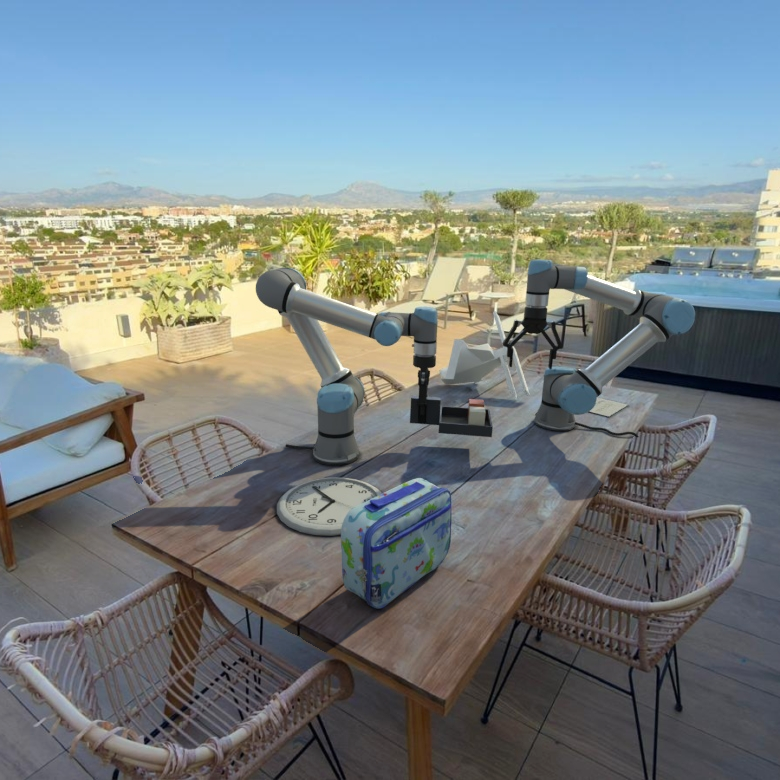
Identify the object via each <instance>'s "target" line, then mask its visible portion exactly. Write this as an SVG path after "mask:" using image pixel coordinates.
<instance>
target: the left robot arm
mask: <svg viewBox="0 0 780 780" xmlns="http://www.w3.org/2000/svg"><path fill="white" fill-rule="evenodd" d="M255 294H256V296H257V299H258V300H259V301H260V302H261V303H262V304H263V305H264V306H266V307H268V308H270V309H272V310H276V311H277V312H278V314H279V316H282V317H285V318H287V321H288V322H289V325H291V327H292V330H293V331H294V333H295V335H296V336H297V338H298V340H299V342H300V343H301V345H302V348H303V349H304V350H305V352H306V354H307V355H308V357H309V359H310V361H311V363H312V364H313V367H314V368H315V370H316V372H317V373H318V375H319V377H320V379H321V381H320V385H319V386H320V387H321V388H319V389H318V391H317V397H316V405H317V438H316V440H315V444H314V446H308V445H307V446H305V445H293V444H287V443H286V444H285V448H290V449H297V450H312V457H313V460H315V462H317V463H319V464H322V465H326V466H344V465H349V464H352V463H354V462H356V461H357V460H359V458H360V447H359V445H358V442H357V439H356V435H355V414H356V413H357V411H358V409H359V408H360V407H361V405H362V404H363V402H364V399H365V392H366V391H365V387H364V384H363V383H362V381H361V379H359V378H358V377H356V376H354V374H353V373H352V370H351V369H350V368H347V367H344V365H343V364H342V361H341V359H340V358H339V356H338V355H337V352H336V350H335V349H334V347H333V345H332V344H331V342H330V339H329V338H328V336H327V334H326V333H325V331H324V329H323V327H322V325H321V324H320V322H323V323H326V324H329V325H331V326H334V327H337V328H341V329H343V330H347V331H348V332H352V333H355V334H358V335H361V336H364V337H367V338H370V339H373V340H374V341H376V342H377V343H378V344H379V345H381V346H383V347H390V346H393V345H395V344H396V343H397V342H399V340H400V339H401V338H402V337H413V343H412V344H411V347H412V348H413V353H414V354H413V356H412V366H413V367H415V368H419V369H418V371H417V379H418V381H417V385H418V396H419V403H417V405H419V406H418V423H423V424H422V425H427V424H426V409H427V403H426V397H429V395H428V391H429V390H428V387H429V383H430V376H431V370H429V369H433V368H435V367H436V365H437V356H436V355H437V347H438V339H437V338H438V326H439V325H438V324H439V323H438V322H439V321H438V310H437V308H436V307H434V306H433V307H432V306H417V307H414V312H412V313H411V312H410V313H409V312H394V311H393V312H391V311H384V312H382V311H381V312H379V313H376V312H372V311H370V310H367V309H363V308H360V307H358V306H354V305H351V304H348V303H345V302H342V301H340V300H337V299H334V298H331V297H329V296H325V295H322V294H319V293H316V292H314V291H310V290H307V281H306V279H305V277H304V275H303V274H302V273H301V272H300V271H299V270H297V269H295V268H292V267H279V268H276V269H271V270H267V271H265V272H263V273H261V275H260V276H259V277H258V278H257V280H256V283H255Z"/></svg>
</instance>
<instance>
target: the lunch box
mask: <svg viewBox="0 0 780 780" xmlns="http://www.w3.org/2000/svg"><path fill="white" fill-rule="evenodd" d="M451 539H452V494H451V491H450V490H449V488H446V487H439V486H437V485H435V484H434V483H432V482H430V481H428V480H426V479H424V478H421V477H416V478H413V479H410V480H408V481H405V482H403V483H402V484H398V485H397V486H395V487H392V488H390V489H389V490H386V491H384V492H382V494H380V495H378V496H376V497H374V498H372V499H370V500H368V501H366V502H364V503H362V504H360V505H358V506H356V507H354V508H353V509H351V510H350V511H349V512H348V514H347V515H346V517H345V518H344V520H343V523H342V528H341V535H340V546H341V569H342V570H341V571H342V582H343V585H344V588H345V589H346V590H347V591H349V592H351V593H353V594H355V595H356V596H358V597H359V598H361V599H362V600H364V601H365V602H366V603H367V605H368V606H370V607H372V608H374V609H378V610H379V609H380V610H381V609H383V608H384V607H387V605H389V604H390V603H391V602H392V601H393V600H395V599H396V598H397V597H399V596H400V595H402V594H403V593H404V592H405V591H407V590H408V589H409V588H411V587H412V586H413V585H415V584H416V583H418V581H419V580H420V579H421V578H423V577H425V576H427V575H428V574H429V573H431V572H432V571H434V570H435V569H437V568H438V567H439V566H441V564H442V563H443V562H444V561H445V559H446V557H447V556H448V554H449V550H450V547H451V541H452V540H451Z"/></svg>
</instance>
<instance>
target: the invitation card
mask: <svg viewBox="0 0 780 780" xmlns="http://www.w3.org/2000/svg"><path fill="white" fill-rule="evenodd" d="M628 406H629V404H627V403H623V402H618V401H614V400H609V399H605V398H601V397H597V400H596V404H595V406H594V407H593V408H592V409H591V410H590V411H589V412H588V413H593V414H596V415H600V416H604V417H608V418H609V417H611V416H613V415H614V414H616V413H617V412H619V411H621V410H623V409H624V408H626V407H628Z"/></svg>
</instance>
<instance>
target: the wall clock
mask: <svg viewBox="0 0 780 780" xmlns="http://www.w3.org/2000/svg"><path fill="white" fill-rule="evenodd" d="M382 493H383V492H382V491H381V490H380V489H379V488H377V487H376V486H374V485H372V484H371V483H369V482H365V481H362V480H359V479H355V478H349V477H338V476H337V477H335V476H333V477H332V476H331V477H322V478H317V479H312V480H307V481H305V482H302V483H299V484H297V485H295V486H293V487H292V488H290V489H288V490H287V491H286V492H285V493H284V494H283V495H281V496H280V498H279V499H278V502H277V503H276V515H277V517H278V518H279V520H280V521H281V522H282V523H283V524H285V525H286V526H287V527H288V528H290V529H293V530H295V531H297V532H299V533H303V534H308V535H312V536H327V537H328V536H329V537H331V536H332V537H333V536H341V528H342V523H343V520H344V518H345V517H346V515H347V514H348V512H349V511H350V510H351V509H353V508H354V507H356V506H358V505H360V504H362V503H364V502H366V501H368V500H370V499H372V498H374V497H376V496H378V495H380V494H382Z"/></svg>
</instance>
